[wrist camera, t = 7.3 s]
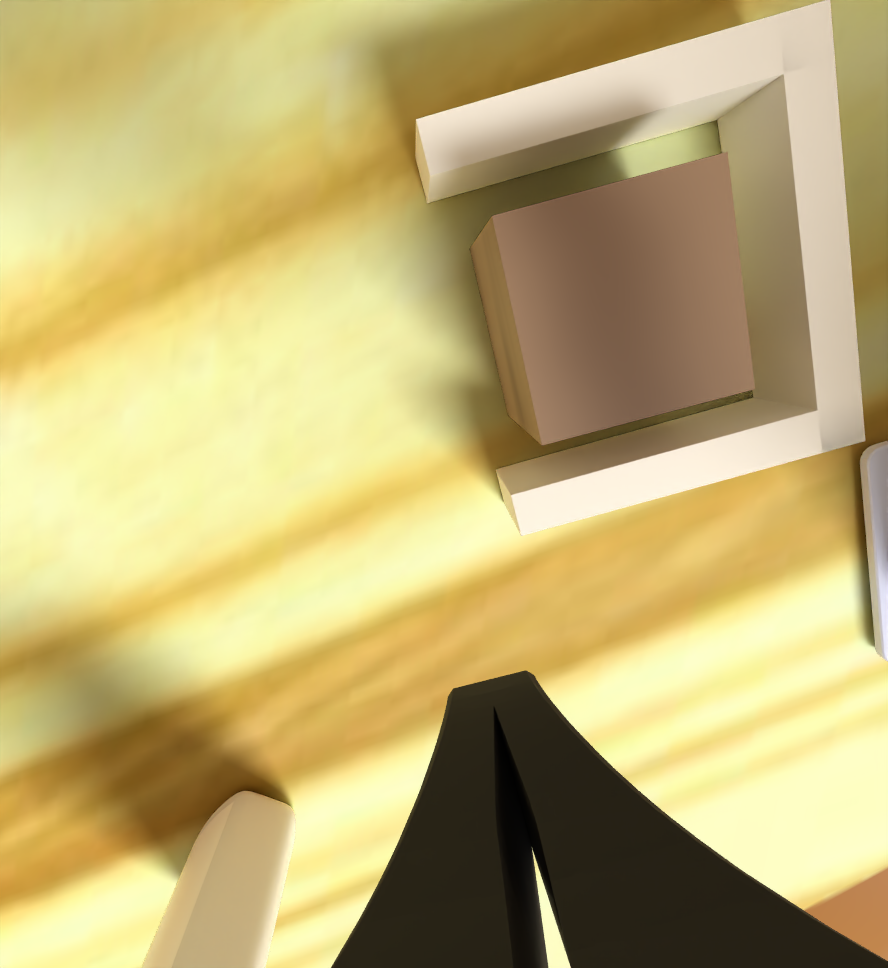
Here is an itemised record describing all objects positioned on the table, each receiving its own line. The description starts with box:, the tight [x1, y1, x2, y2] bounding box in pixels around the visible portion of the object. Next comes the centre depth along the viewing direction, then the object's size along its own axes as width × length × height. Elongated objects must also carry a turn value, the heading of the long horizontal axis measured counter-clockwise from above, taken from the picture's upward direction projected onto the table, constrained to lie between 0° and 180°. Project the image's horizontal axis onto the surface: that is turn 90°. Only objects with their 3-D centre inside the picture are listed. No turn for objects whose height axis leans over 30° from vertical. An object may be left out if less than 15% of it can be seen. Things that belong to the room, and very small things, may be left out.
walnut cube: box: [470, 152, 755, 445], centre depth 15 cm, size 5×5×5 cm
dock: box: [415, 0, 865, 536], centre depth 16 cm, size 10×10×3 cm
